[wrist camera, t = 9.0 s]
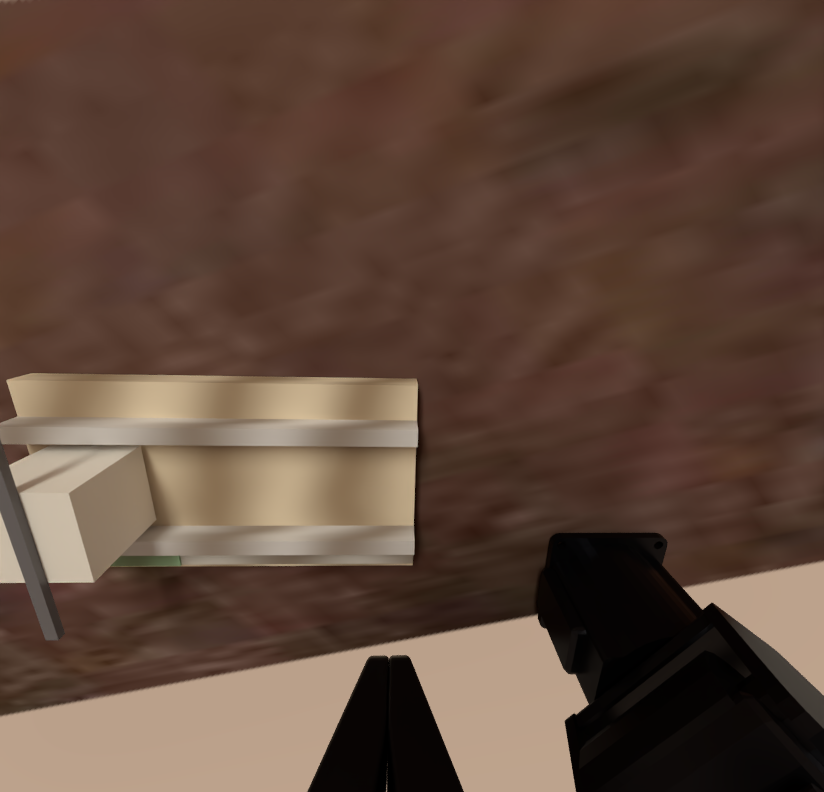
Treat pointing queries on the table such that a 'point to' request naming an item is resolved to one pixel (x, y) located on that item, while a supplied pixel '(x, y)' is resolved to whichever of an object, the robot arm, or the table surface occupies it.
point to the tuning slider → (69, 518)
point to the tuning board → (246, 462)
